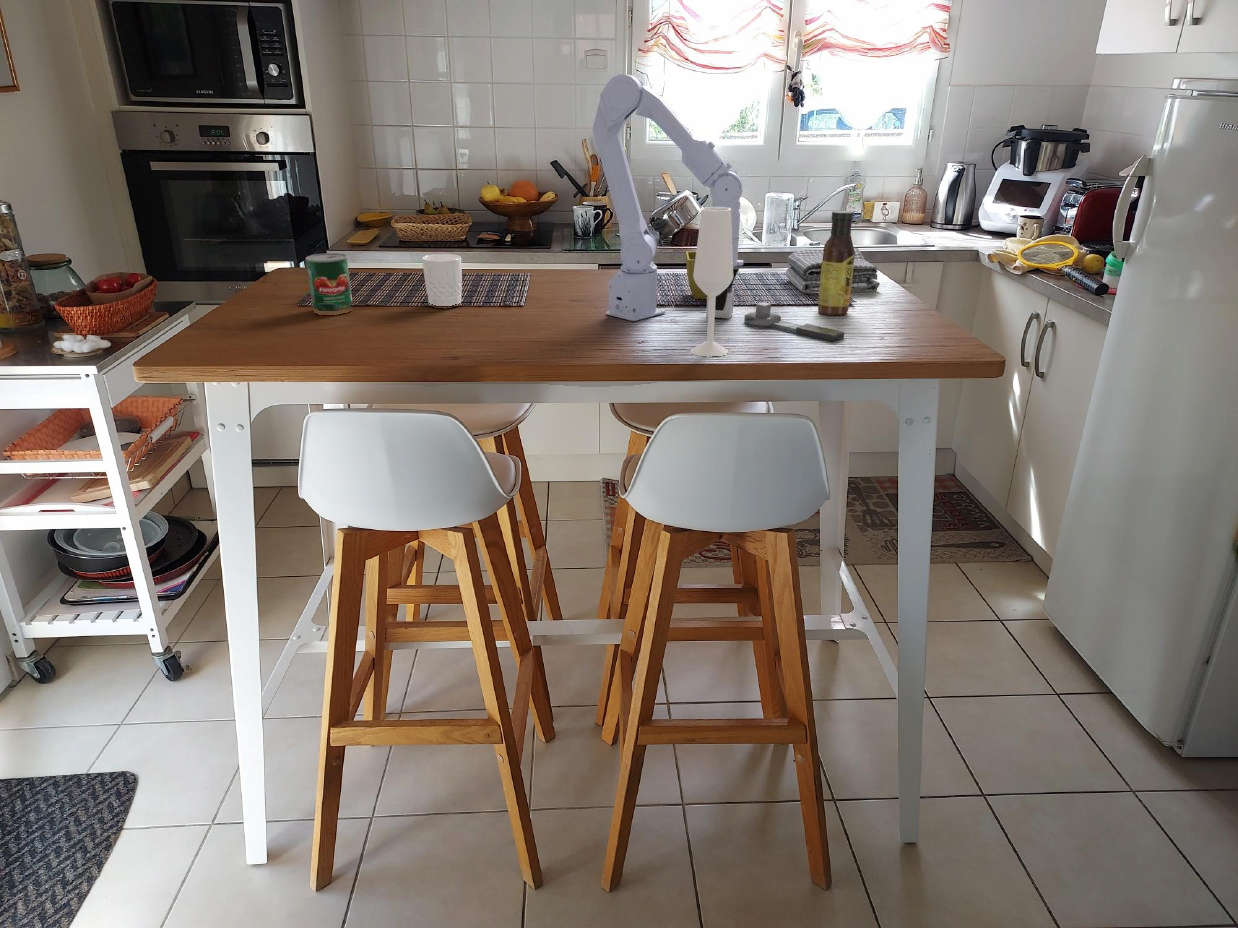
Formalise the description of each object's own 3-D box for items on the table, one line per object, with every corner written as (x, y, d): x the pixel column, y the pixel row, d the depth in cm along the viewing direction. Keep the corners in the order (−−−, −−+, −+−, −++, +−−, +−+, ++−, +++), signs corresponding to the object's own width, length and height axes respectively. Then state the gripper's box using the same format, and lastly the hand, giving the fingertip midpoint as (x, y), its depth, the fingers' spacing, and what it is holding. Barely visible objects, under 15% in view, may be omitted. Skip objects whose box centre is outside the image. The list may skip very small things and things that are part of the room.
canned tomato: (328, 318, 168) (320, 262, 163) (305, 312, 172) (296, 257, 168) (361, 310, 173) (355, 256, 169) (338, 304, 178) (331, 251, 173)
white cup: (468, 301, 180) (465, 254, 176) (458, 310, 173) (455, 261, 169) (432, 300, 181) (428, 253, 177) (421, 309, 174) (416, 260, 170)
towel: (782, 281, 201) (785, 247, 197) (857, 280, 202) (861, 246, 199) (800, 296, 187) (804, 260, 184) (881, 294, 188) (885, 259, 185)
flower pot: (727, 302, 181) (729, 259, 177) (686, 301, 181) (687, 259, 177) (723, 292, 189) (725, 251, 185) (684, 292, 189) (685, 251, 185)
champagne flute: (725, 346, 150) (733, 206, 141) (731, 357, 144) (740, 211, 134) (688, 346, 150) (693, 206, 140) (692, 357, 144) (698, 212, 134)
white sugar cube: (729, 318, 166) (730, 293, 164) (706, 316, 168) (707, 291, 166) (732, 312, 171) (734, 288, 168) (710, 311, 172) (711, 286, 170)
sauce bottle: (849, 317, 169) (860, 214, 161) (817, 315, 170) (827, 213, 162) (847, 309, 175) (859, 210, 166) (816, 308, 176) (826, 209, 168)
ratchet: (848, 337, 156) (851, 316, 154) (827, 345, 151) (829, 324, 150) (758, 317, 169) (759, 298, 168) (736, 323, 165) (737, 304, 163)
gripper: (739, 244, 155) (734, 317, 161) (749, 232, 168) (745, 299, 174) (701, 242, 157) (698, 314, 163) (714, 230, 170) (711, 297, 175)
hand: (720, 306), depth 168 cm, fingers closed on white sugar cube, 5 cm apart
